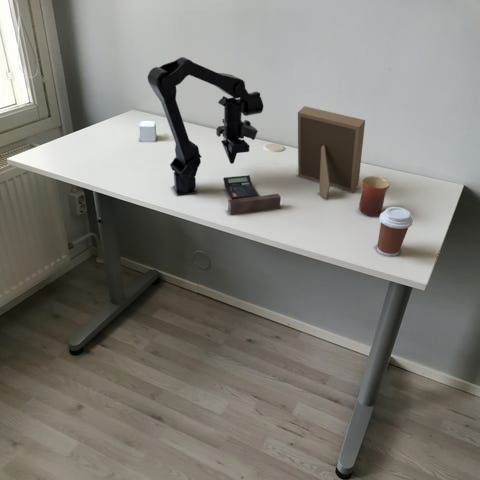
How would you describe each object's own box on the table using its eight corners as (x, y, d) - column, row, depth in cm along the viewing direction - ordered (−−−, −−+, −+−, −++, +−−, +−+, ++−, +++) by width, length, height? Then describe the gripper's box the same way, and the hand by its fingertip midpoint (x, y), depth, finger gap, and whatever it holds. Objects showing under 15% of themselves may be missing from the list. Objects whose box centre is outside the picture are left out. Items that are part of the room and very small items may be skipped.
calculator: (231, 199, 164) (231, 191, 162) (223, 185, 172) (223, 177, 170) (258, 197, 166) (258, 189, 164) (248, 182, 174) (249, 174, 172)
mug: (375, 221, 155) (382, 190, 149) (351, 212, 159) (356, 182, 153) (392, 208, 163) (399, 178, 156) (368, 199, 167) (374, 170, 160)
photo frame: (303, 172, 182) (312, 102, 166) (357, 188, 173) (372, 115, 157) (283, 186, 173) (290, 113, 157) (339, 203, 164) (353, 128, 148)
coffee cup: (405, 260, 138) (416, 222, 131) (372, 256, 139) (381, 218, 132) (402, 243, 145) (413, 206, 138) (371, 239, 146) (380, 203, 139)
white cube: (156, 136, 206) (155, 121, 202) (155, 141, 202) (154, 126, 198) (142, 135, 206) (140, 121, 202) (140, 141, 201) (139, 126, 197)
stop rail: (230, 214, 156) (230, 203, 153) (228, 211, 157) (228, 199, 155) (279, 208, 160) (280, 196, 157) (277, 204, 162) (278, 193, 159)
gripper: (265, 125, 157) (262, 171, 168) (246, 107, 171) (244, 151, 181) (232, 127, 155) (231, 175, 165) (215, 109, 168) (215, 154, 178)
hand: (231, 163), depth 172 cm, fingers closed
